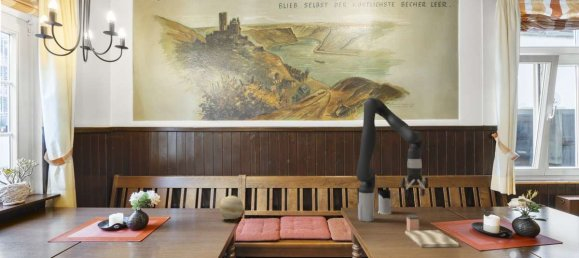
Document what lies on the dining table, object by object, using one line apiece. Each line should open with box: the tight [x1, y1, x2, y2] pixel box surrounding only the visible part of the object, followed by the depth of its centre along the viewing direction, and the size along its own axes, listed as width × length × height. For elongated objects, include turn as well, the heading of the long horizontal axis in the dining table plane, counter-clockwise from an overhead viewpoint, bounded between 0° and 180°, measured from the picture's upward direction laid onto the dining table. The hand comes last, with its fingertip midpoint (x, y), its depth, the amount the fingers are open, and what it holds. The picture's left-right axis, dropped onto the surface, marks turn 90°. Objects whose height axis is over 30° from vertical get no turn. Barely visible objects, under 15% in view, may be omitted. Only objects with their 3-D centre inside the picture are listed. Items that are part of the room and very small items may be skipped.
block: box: [406, 214, 420, 231], centre depth 197 cm, size 5×5×8 cm
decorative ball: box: [219, 195, 244, 220], centre depth 225 cm, size 15×15×15 cm
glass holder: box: [377, 189, 400, 215], centre depth 238 cm, size 9×14×15 cm, turn 96°
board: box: [404, 229, 460, 249], centre depth 181 cm, size 18×22×2 cm
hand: (414, 195), depth 199 cm, fingers open, 8 cm apart
